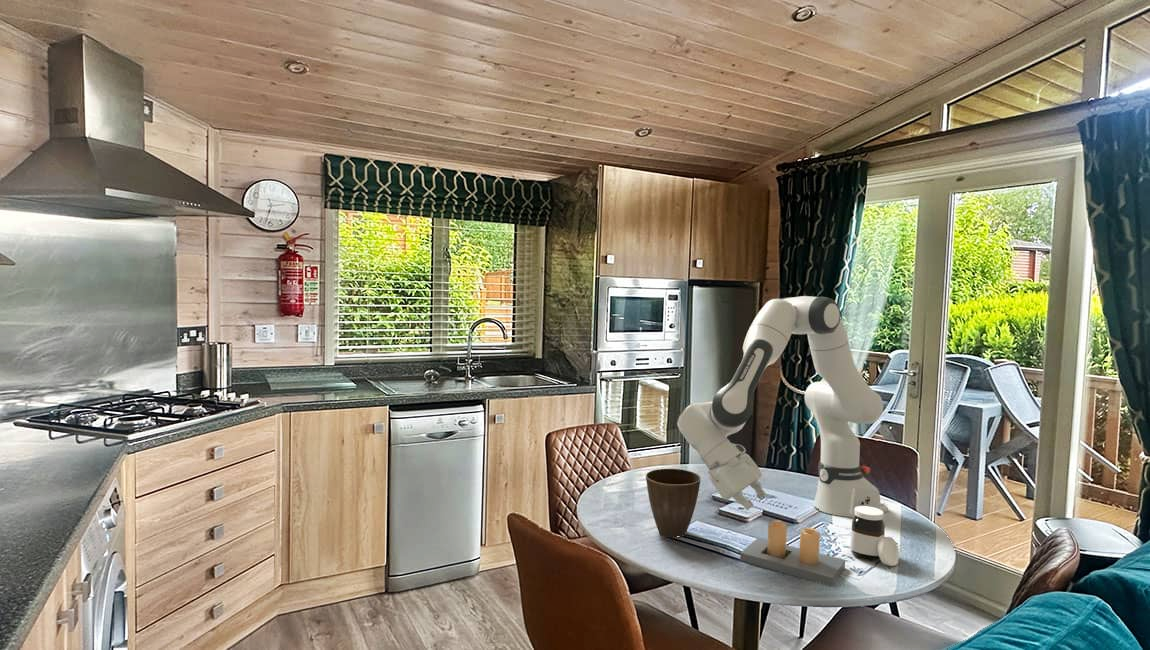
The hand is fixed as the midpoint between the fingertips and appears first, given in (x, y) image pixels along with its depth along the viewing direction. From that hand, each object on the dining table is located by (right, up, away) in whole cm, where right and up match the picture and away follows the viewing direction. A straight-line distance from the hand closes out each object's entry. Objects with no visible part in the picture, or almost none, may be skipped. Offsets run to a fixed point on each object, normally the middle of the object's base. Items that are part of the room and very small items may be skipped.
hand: (757, 502), depth 165 cm
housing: (+7, -14, -5) cm, 16 cm away
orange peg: (+4, -14, -2) cm, 15 cm away
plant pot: (-20, -12, +14) cm, 27 cm away
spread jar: (+30, -14, 0) cm, 33 cm away
